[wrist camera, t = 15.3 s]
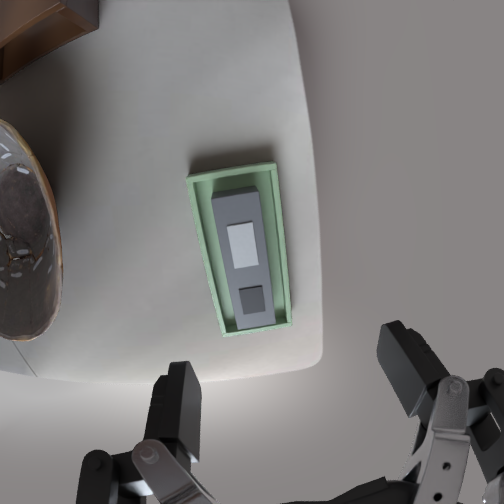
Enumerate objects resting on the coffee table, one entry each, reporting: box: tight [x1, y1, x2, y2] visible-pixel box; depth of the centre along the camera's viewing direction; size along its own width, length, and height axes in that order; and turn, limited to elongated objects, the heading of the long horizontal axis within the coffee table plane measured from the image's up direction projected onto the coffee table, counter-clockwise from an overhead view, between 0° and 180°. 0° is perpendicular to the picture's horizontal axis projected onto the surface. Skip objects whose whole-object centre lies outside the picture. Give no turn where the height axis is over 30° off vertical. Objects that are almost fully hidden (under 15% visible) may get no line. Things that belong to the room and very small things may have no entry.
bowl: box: [0, 119, 63, 341], centre depth 21 cm, size 25×25×10 cm
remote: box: [211, 185, 276, 330], centre depth 29 cm, size 15×4×3 cm, turn 8°
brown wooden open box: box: [0, 0, 98, 85], centre depth 12 cm, size 16×9×9 cm, turn 98°
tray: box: [186, 161, 292, 337], centre depth 30 cm, size 19×9×2 cm, turn 8°
